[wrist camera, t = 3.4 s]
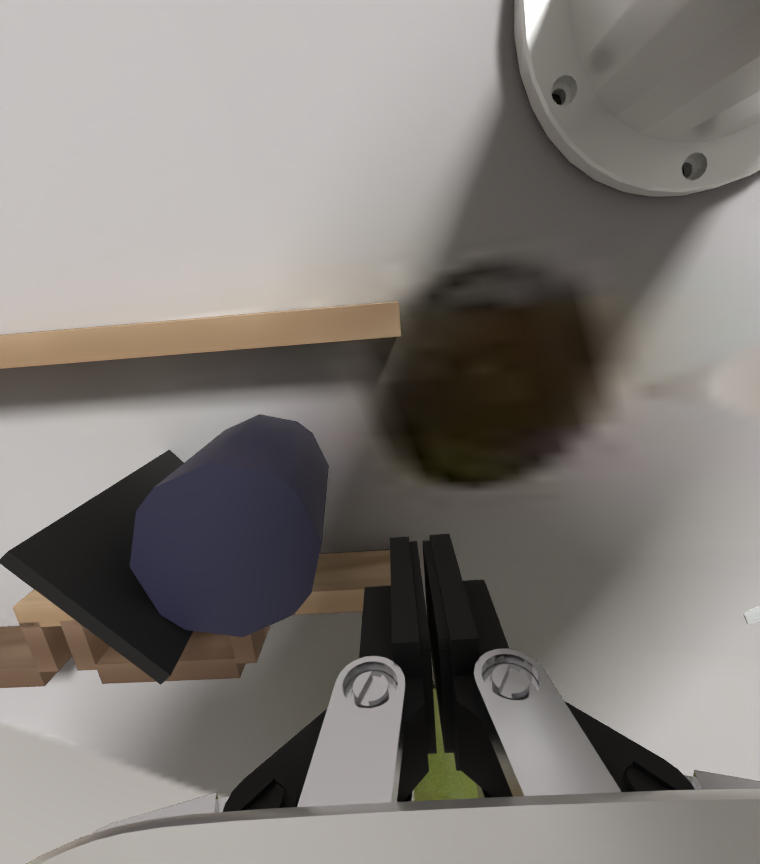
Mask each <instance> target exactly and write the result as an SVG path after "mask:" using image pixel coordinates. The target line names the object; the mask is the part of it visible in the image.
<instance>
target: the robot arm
mask: <svg viewBox="0 0 760 864" xmlns="http://www.w3.org/2000/svg"><path fill="white" fill-rule="evenodd" d="M514 36H515V43H516V50H517V56H518V63H519V69H520V75H521V78H522V81H523V84H524V87H525V90H526V92H527V95H528V98H529V101H530V104H531V107H532V109H533V111H534V113H535V115H536V117H537V118H538V120H539V122H540V124H541V125H542V127H543V129H544V131H545V132H546V134H547V136H548V138H549V139H550V140H551V141H552V142H553V144H554V145H555V146H556V147H557V148H558V149H559V150H560V151H561V153H562V154H563V155H564V156H565V157H566V158H567V159H568V161H569V162H570V163H572V164H573V165H575V166H576V167H577V168H579V169H580V170H582V171H583V172H584V173H586V174H587V175H588V176H590V177H591V178H593V179H594V180H596V181H598V182H601V183H603V184H605V185H608V186H610V187H613V188H615V189H617V190H620V191H622V192H627V193H633V194H639V195H645V196H650V197H662V196H684V195H688V194H693V193H697V192H701V191H705V190H709V189H713V188H717V187H720V186H722V185H725V184H728V183H730V182H733V181H736V180H739V179H741V178H744V177H747V176H750V175H752V174H753V173H755V172H757V171H759V170H760V0H515V4H514ZM552 94H558V95H559V96H560V97H561V105H558V104H556V102H555V101H554V100H553V99H552ZM682 167H683V168H684V172H685V173H684V175H683V173H682ZM423 557H424V573H425V590H426V606H427V614H426V606H425V599H424V592H423V584H422V577H421V569H420V562H419V554H418V547H417V541H414V542H409V537H396V538H390V572H391V585H390V586H374V587H365V590H364V602H363V615H362V629H361V643H360V656H359V659H356V660H354V661H353V662H351V663H350V664H348V665H347V666H346V667H345V668H344V669H343V670H342V671H341V672H340V674H339V676H338V678H337V680H336V682H335V685H334V689H333V692H332V695H331V698H330V702H329V705H328V708H327V709H326V710H325V711H324V712H323V713H321V714H320V715H319V716H318V717H317V718H316V719H314V720H313V721H312V722H311V723H310V724H309V725H307V726H306V727H305V728H304V729H303V730H301V731H300V732H299V733H298V734H297V735H296V736H294V737H293V738H292V739H291V740H290V741H288V742H287V743H286V744H285V745H284V746H283V747H281V748H280V749H279V750H278V751H277V752H275V753H274V754H273V755H272V756H271V757H270V758H268V759H267V760H266V761H265V762H264V763H262V764H261V765H260V766H259V767H258V768H257V769H255V770H254V771H253V772H252V773H251V774H249V775H248V776H247V777H246V778H245V779H244V780H243V781H242V782H241V783H240V784H239V785H238V786H237V787H236V788H235V789H234V790H233V792H232V793H231V795H230V796H227V797H224V798H220V799H218V796H217V793H213V794H210V795H206V796H203V797H199V798H196V799H193V800H189V801H186V802H183V803H179V804H176V805H172V806H169V807H166V808H162V809H158V810H155V811H152V812H148V813H145V814H142V815H138V816H134V817H131V818H128V819H124V820H121V821H118V822H114V823H111V824H109V825H107V826H105V827H102V828H100V829H98V830H96V831H95V832H94V833H92V834H91V835H88V836H84V837H81V838H79V839H77V840H75V841H72V842H70V843H68V844H65V845H63V846H61V847H59V848H56V849H54V850H52V851H50V852H47V853H46V854H43V855H41V856H39V857H38V858H36V859H34V860H32V861H30V862H29V863H27V864H760V781H755V780H749V779H744V778H738V777H732V776H726V775H721V774H715V773H709V772H704V771H698V770H694V775H693V777H691V776H685V775H683V774H682V773H681V772H680V771H679V770H678V769H677V768H675V767H674V766H673V765H671V764H670V763H668V762H667V761H666V760H664V759H663V758H661V757H659V756H657V755H656V754H654V753H652V752H651V751H649V750H647V749H645V748H644V747H642V746H640V745H639V744H637V743H635V742H633V741H632V740H630V739H628V738H627V737H625V736H623V735H622V734H620V733H618V732H616V731H615V730H613V729H611V728H610V727H608V726H606V725H604V724H603V723H601V722H599V721H598V720H596V719H594V718H593V717H591V716H589V715H587V714H586V713H584V712H582V711H581V710H579V709H577V708H575V707H574V706H572V705H570V704H569V703H567V702H565V701H564V700H563V698H562V697H561V695H560V694H559V692H558V690H557V689H556V687H555V686H554V684H553V683H552V681H551V679H550V678H549V676H548V675H547V673H546V672H545V670H544V669H543V667H542V666H541V665H540V664H539V663H538V662H537V661H536V660H535V659H533V658H532V657H531V656H529V655H528V654H525V653H523V652H520V651H518V650H513V649H509V647H508V644H507V641H506V639H505V636H504V633H503V630H502V628H501V625H500V622H499V619H498V617H497V614H496V611H495V608H494V606H493V603H492V600H491V597H490V595H489V592H488V589H487V586H486V584H485V582H484V580H470V581H462V577H461V574H460V570H459V567H458V563H457V560H456V556H455V553H454V549H453V546H452V542H451V538H450V535H449V534H441V535H430V540H429V541H423ZM431 656H432V663H433V671H434V678H435V686H436V694H437V701H438V709H439V716H440V724H441V731H442V739H443V746H444V752H445V753H454V758H455V765H456V771H462V772H463V773H464V774H465V775H467V776H468V777H469V778H470V779H471V780H473V781H474V782H475V783H476V784H477V792H478V798H472V799H451V800H429V801H415V800H414V789H415V787H416V786H417V785H418V784H419V783H420V781H421V780H422V779H423V778H424V777H425V775H426V774H427V773H428V772H429V763H428V754H437V747H436V730H435V713H434V697H433V680H432V663H431Z"/></svg>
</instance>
